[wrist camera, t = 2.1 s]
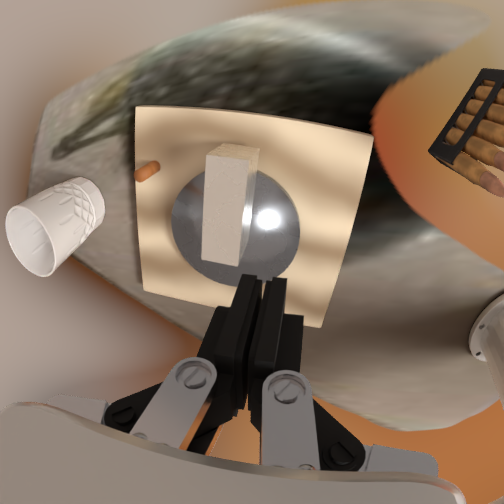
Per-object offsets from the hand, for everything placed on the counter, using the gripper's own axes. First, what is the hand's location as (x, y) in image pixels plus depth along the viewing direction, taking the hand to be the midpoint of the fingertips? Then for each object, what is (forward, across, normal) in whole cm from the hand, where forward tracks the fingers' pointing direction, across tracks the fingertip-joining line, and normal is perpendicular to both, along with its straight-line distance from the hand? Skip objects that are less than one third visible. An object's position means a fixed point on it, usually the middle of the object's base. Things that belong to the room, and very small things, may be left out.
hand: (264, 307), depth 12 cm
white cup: (+19, +24, +4) cm, 31 cm away
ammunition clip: (+18, -16, -8) cm, 25 cm away
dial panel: (+18, +5, +5) cm, 20 cm away
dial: (+17, +5, +4) cm, 18 cm away
